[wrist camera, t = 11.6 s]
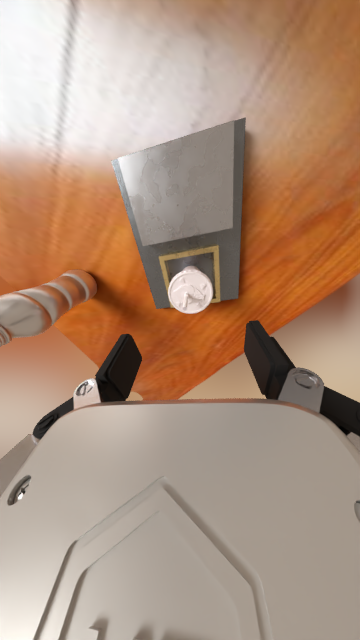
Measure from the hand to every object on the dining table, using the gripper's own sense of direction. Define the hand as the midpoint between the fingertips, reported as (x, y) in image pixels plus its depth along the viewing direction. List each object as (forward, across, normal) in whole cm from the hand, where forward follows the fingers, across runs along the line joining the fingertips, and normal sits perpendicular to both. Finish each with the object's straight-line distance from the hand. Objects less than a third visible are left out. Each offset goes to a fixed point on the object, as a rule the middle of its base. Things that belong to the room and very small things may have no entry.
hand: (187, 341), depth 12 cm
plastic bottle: (+22, +24, -1) cm, 32 cm away
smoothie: (+20, 0, 0) cm, 20 cm away
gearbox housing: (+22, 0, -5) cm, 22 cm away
